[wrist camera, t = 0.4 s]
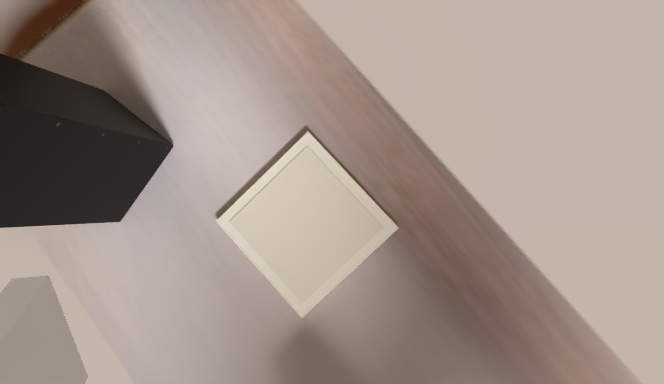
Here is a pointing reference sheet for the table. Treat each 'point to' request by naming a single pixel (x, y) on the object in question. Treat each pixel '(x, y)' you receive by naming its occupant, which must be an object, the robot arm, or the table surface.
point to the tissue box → (68, 150)
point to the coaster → (306, 224)
